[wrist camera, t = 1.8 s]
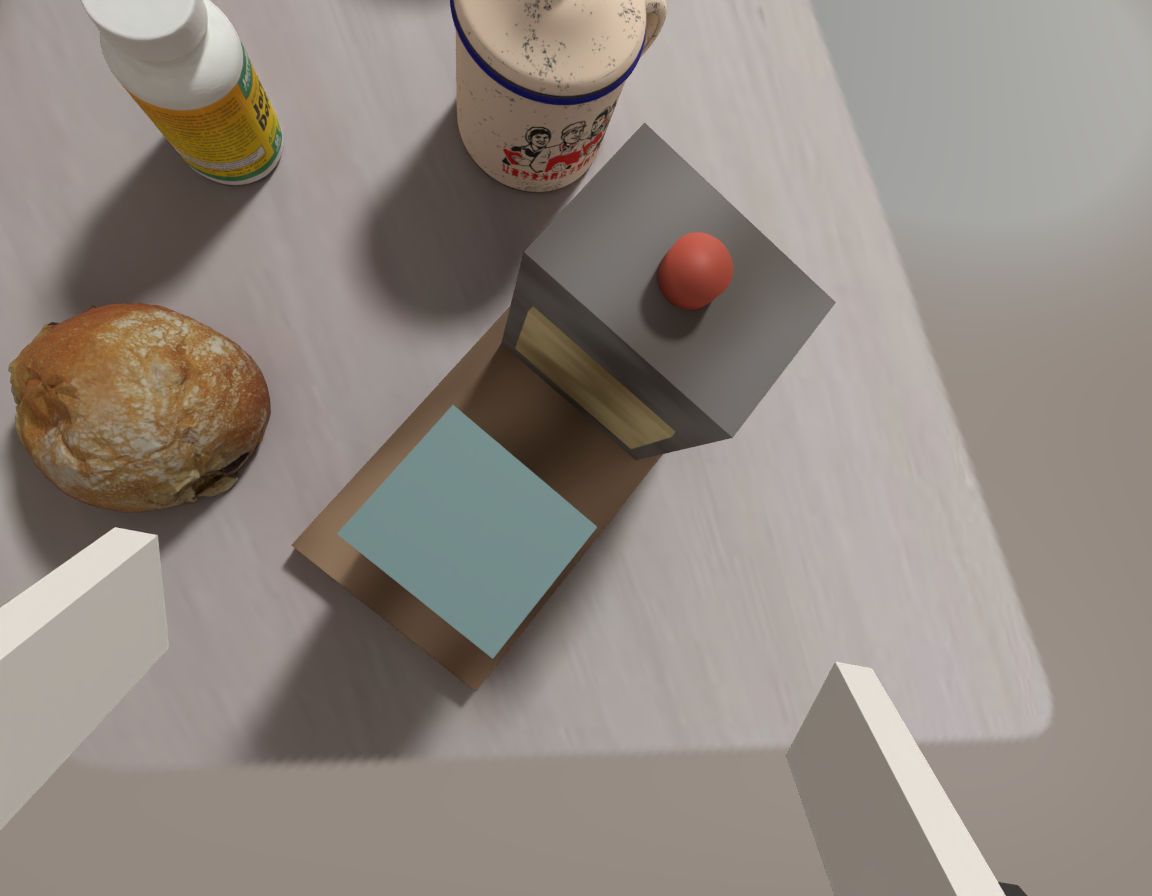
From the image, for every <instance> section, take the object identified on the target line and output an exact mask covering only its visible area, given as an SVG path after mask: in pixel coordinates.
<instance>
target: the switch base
mask: <svg viewBox="0 0 1152 896" xmlns="http://www.w3.org/2000/svg"><path fill="white" fill-rule="evenodd" d="M835 303H836V302H835V301H834V300H833V299H832V298H830V297H829V296H828V295H827V294H826V293H825V292H824V291H823V290H822V289H821V288H820V287H819V286H818V285H817V284H816V283H815V282H813V281H812V280H811V279H810V278H809V277H808V276H807V275H806V274H805V273H804V272H803V271H802V270H801V269H800V268H799V267H798V266H796V265H795V264H794V263H793V262H792V261H791V260H790V259H789V258H788V257H787V256H786V255H785V254H784V253H783V252H782V251H780V250H779V249H778V248H777V247H776V246H775V245H774V244H773V243H772V242H771V241H770V240H769V239H768V238H767V237H766V236H765V235H763V234H762V233H761V232H760V231H759V230H758V229H757V228H756V227H755V226H754V225H753V224H752V223H751V222H750V221H749V220H748V219H746V218H745V217H744V216H743V215H742V214H741V213H740V212H739V211H738V210H737V209H736V208H735V207H734V206H733V205H732V204H731V203H729V202H728V201H727V200H726V199H725V198H724V197H723V196H722V195H721V194H720V193H719V192H718V191H717V190H716V189H715V188H714V187H712V186H711V185H710V184H709V183H708V182H707V181H706V180H705V179H704V178H703V177H702V176H701V175H700V174H699V173H698V172H696V171H695V170H694V169H693V168H692V167H691V166H690V165H689V164H688V163H687V162H686V161H685V160H684V159H683V158H682V157H681V156H679V155H678V154H677V153H676V152H675V151H674V150H673V149H672V148H671V147H670V146H669V145H668V144H667V143H666V142H665V141H664V140H662V139H661V138H660V137H659V136H658V135H657V134H656V133H655V132H654V131H653V130H652V129H651V128H650V127H649V126H648V125H647V124H645V123H644V124H643V125H642V126H641V127H640V128H639V129H638V130H637V131H636V132H635V133H634V134H633V135H632V137H631V138H630V139H629V140H628V141H627V142H626V143H625V144H624V145H623V146H622V147H621V148H620V149H619V150H618V152H617V153H616V154H615V155H614V156H613V157H612V158H611V159H610V160H609V161H608V162H607V163H606V164H605V165H604V167H603V168H602V169H601V170H600V171H599V172H598V173H597V174H596V175H595V176H594V177H593V178H592V179H591V180H590V182H589V183H588V184H587V185H586V186H585V187H584V188H583V189H582V190H581V191H580V192H579V193H578V194H577V195H576V197H575V198H574V199H573V200H572V201H571V202H570V203H569V204H568V205H567V206H566V207H565V208H564V209H563V210H562V212H561V213H560V214H559V215H558V216H557V217H556V218H555V219H554V220H553V221H552V222H551V223H550V224H549V225H548V227H547V228H546V229H545V230H544V231H543V232H542V233H541V234H540V235H539V236H538V237H537V238H536V239H535V240H534V242H533V243H532V244H531V245H530V246H529V247H528V248H527V249H526V250H525V251H524V253H523V257H522V261H521V265H520V270H519V274H518V278H517V282H516V286H515V290H514V294H513V298H512V302H511V306H510V307H509V308H508V309H507V310H506V311H505V312H504V314H503V315H502V316H501V317H500V318H499V319H498V320H497V321H496V322H495V323H494V324H493V326H492V327H491V328H490V329H489V330H488V331H487V332H486V333H485V334H484V335H483V337H482V338H481V339H480V340H479V341H478V342H477V343H476V344H475V345H474V346H473V347H472V349H471V350H470V351H469V352H468V353H467V354H466V355H465V356H464V357H463V358H462V359H461V361H460V362H459V363H458V364H457V365H456V366H455V367H454V368H453V369H452V370H451V371H450V373H449V374H448V375H447V376H446V377H445V378H444V379H443V380H442V381H441V382H440V383H439V385H438V386H437V387H436V388H435V389H434V390H433V391H432V392H431V393H430V394H429V395H428V397H427V398H426V399H425V400H424V401H423V402H422V403H421V404H420V405H419V406H418V407H417V409H416V410H415V411H414V412H413V413H412V414H411V415H410V416H409V417H408V418H407V419H406V421H405V422H404V423H403V424H402V425H401V426H400V427H399V428H398V429H397V430H396V431H395V433H394V434H393V435H392V436H391V437H390V438H389V439H388V440H387V441H386V442H385V444H384V445H383V446H382V447H381V448H380V449H379V450H378V451H377V452H376V453H375V454H374V456H373V457H372V458H371V459H370V460H369V461H368V462H367V463H366V464H365V465H364V466H363V468H362V469H361V470H360V471H359V472H358V473H357V474H356V475H355V476H354V477H353V478H352V480H351V481H350V482H349V483H348V484H347V485H346V486H345V487H344V488H343V489H342V490H341V492H340V493H339V494H338V495H337V496H336V497H335V498H334V499H333V500H332V501H331V502H330V504H329V505H328V506H327V507H326V508H325V509H324V510H323V511H322V512H321V513H320V514H319V516H318V517H317V518H316V519H315V520H314V521H313V522H312V523H311V524H310V525H309V526H308V528H307V529H306V530H305V531H304V532H303V533H302V534H301V535H300V536H299V537H298V538H297V540H296V541H295V542H294V543H293V544H292V546H293V547H294V548H295V549H297V550H298V551H299V552H300V553H302V554H303V555H304V556H305V557H307V558H308V559H309V560H310V561H312V562H313V563H314V564H315V565H317V566H318V567H319V568H321V569H322V570H323V571H324V572H326V573H327V574H328V575H329V576H331V577H332V578H333V579H334V580H336V581H337V582H338V583H339V584H341V585H342V586H343V587H345V588H346V589H347V590H348V591H350V592H351V593H352V594H353V595H355V596H356V597H357V598H358V599H360V600H361V601H362V602H363V603H365V604H366V605H367V606H368V607H370V608H371V609H372V610H374V611H375V612H376V613H377V614H379V615H380V616H381V617H382V618H384V619H385V620H386V621H387V622H389V623H390V624H391V625H392V626H394V627H395V628H396V629H398V630H399V631H400V632H401V633H403V634H404V635H405V636H406V637H408V638H409V639H410V640H411V641H413V642H414V643H415V644H416V645H418V646H419V647H420V648H421V649H423V650H424V651H425V652H427V653H428V654H429V655H430V656H432V657H433V658H434V659H435V660H437V661H438V662H439V663H440V664H442V665H443V666H444V667H445V668H447V669H448V670H449V671H451V672H452V673H453V674H454V675H456V676H457V677H458V678H459V679H461V680H462V681H463V682H464V683H466V684H467V685H468V686H469V687H471V688H472V689H473V690H474V691H476V690H477V689H478V688H479V686H480V685H481V684H482V683H483V681H484V680H485V679H486V677H487V676H488V675H489V674H490V672H491V671H492V670H493V669H494V667H495V666H496V665H497V664H498V662H499V661H500V660H501V658H502V657H503V656H504V655H505V653H506V652H507V651H508V650H509V648H510V647H511V646H512V645H513V643H514V642H515V641H516V639H517V638H518V637H519V636H520V634H521V633H522V632H523V631H524V629H525V628H526V627H527V625H528V624H529V623H530V622H531V620H532V619H533V618H534V617H535V615H536V614H537V613H538V612H539V610H540V609H541V608H542V606H543V605H544V604H545V603H546V601H547V600H548V599H549V598H550V596H551V595H552V594H553V593H554V591H555V590H556V589H557V587H558V586H559V585H560V584H561V582H562V581H563V580H564V579H565V577H566V576H567V575H568V573H569V572H570V571H571V570H572V568H573V567H574V566H575V565H576V563H577V562H578V561H579V560H580V558H581V557H582V556H583V554H584V553H585V552H586V551H587V549H588V548H589V547H590V546H591V544H592V543H593V542H594V540H595V539H596V538H597V537H598V535H599V534H600V533H601V532H602V530H603V529H604V528H605V527H606V525H607V524H608V523H609V521H610V520H611V519H612V518H613V516H614V515H615V514H616V513H617V511H618V510H619V509H620V508H621V506H622V505H623V504H624V502H625V501H626V500H627V499H628V497H629V496H630V495H631V494H632V492H633V491H634V490H635V488H636V487H637V486H638V485H639V483H640V482H641V481H642V480H643V478H644V477H645V476H646V475H647V473H648V472H649V471H650V469H651V468H652V467H653V466H654V464H655V463H656V462H657V461H658V459H659V458H660V457H661V456H662V454H665V453H669V452H673V451H678V450H682V449H686V448H690V447H695V446H699V445H703V444H708V443H712V442H716V441H721V440H725V439H729V438H733V437H734V435H735V434H736V433H737V431H738V430H739V429H740V427H741V426H742V425H743V423H744V422H745V421H746V420H747V418H748V417H749V416H750V414H751V413H752V412H753V410H754V409H755V408H756V406H757V405H758V404H759V402H760V401H761V400H762V399H763V397H764V396H765V395H766V393H767V392H768V391H769V389H770V388H771V387H772V385H773V384H774V383H775V382H776V380H777V379H778V378H779V376H780V375H781V374H782V372H783V371H784V370H785V368H786V367H787V366H788V364H789V363H790V362H791V361H792V359H793V358H794V357H795V355H796V354H797V353H798V351H799V350H800V349H801V347H802V346H803V345H804V343H805V342H806V341H807V340H808V338H809V337H810V336H811V334H812V333H813V332H814V330H815V329H816V328H817V326H818V325H819V324H820V323H821V321H822V320H823V319H824V317H825V316H826V315H827V313H828V312H829V311H830V309H831V308H832V307H833V305H834V304H835ZM452 405H454V406H455V407H456V408H458V409H459V410H460V411H461V412H462V413H463V414H465V415H466V416H467V417H468V418H469V419H471V420H472V421H473V422H474V423H475V424H476V425H478V426H479V427H480V428H481V429H482V430H483V431H485V432H486V433H487V434H488V435H489V436H491V437H492V438H493V439H494V440H495V441H496V442H498V443H499V444H500V445H501V446H502V447H504V448H505V449H506V450H507V451H508V452H509V453H511V454H512V455H513V456H514V457H515V458H517V459H518V460H519V461H520V462H521V463H522V464H524V465H525V466H526V467H527V468H528V469H530V470H531V471H532V472H533V473H534V474H535V475H537V476H538V477H539V478H540V479H541V480H543V481H544V482H545V483H546V484H547V485H548V486H550V487H551V488H552V489H553V490H554V491H556V492H557V493H558V494H559V495H560V496H561V497H563V498H564V499H565V500H566V501H567V502H569V503H570V504H571V505H572V506H573V507H574V508H576V509H577V510H578V511H579V512H580V513H581V514H583V515H584V516H585V517H586V518H587V519H589V520H590V521H591V522H592V523H593V524H594V525H596V526H597V528H596V529H595V531H594V532H593V533H592V534H591V536H590V537H589V538H588V539H587V541H586V542H585V543H584V545H583V546H582V547H581V548H580V550H579V551H578V552H577V553H576V555H575V556H574V557H573V558H572V560H571V561H570V562H569V563H568V565H567V566H566V567H565V568H564V570H563V571H562V572H561V574H560V575H559V576H558V577H557V579H556V580H555V581H554V582H553V584H552V585H551V586H550V587H549V589H548V590H547V591H546V592H545V594H544V595H543V596H542V598H541V599H540V600H539V601H538V603H537V604H536V605H535V606H534V608H533V609H532V610H531V611H530V613H529V614H528V615H527V616H526V618H525V619H524V620H523V622H522V623H521V624H520V625H519V627H518V628H517V629H516V630H515V632H514V633H513V634H512V635H511V637H510V638H509V639H508V640H507V642H506V643H505V644H504V646H503V647H502V648H501V649H500V651H499V652H498V653H497V654H496V656H495V657H494V658H493V659H492V658H491V657H490V656H489V655H487V654H486V653H485V652H484V651H482V650H481V649H480V648H479V647H477V646H476V645H475V644H474V643H472V642H471V641H470V640H469V639H467V638H466V637H465V636H464V635H462V634H461V633H460V632H459V631H457V630H456V629H455V628H454V627H452V626H451V625H450V624H449V623H447V622H446V621H445V620H444V619H442V618H441V617H440V616H439V615H437V614H436V613H435V612H434V611H432V610H431V609H430V608H429V607H427V606H426V605H425V604H424V603H422V602H421V601H420V600H419V599H417V598H416V597H415V596H414V595H412V594H411V593H410V592H409V591H408V590H406V589H405V588H404V587H403V586H401V585H400V584H399V583H398V582H396V581H395V580H394V579H393V578H391V577H390V576H389V575H388V574H386V573H385V572H384V571H383V570H381V569H380V568H379V567H378V566H376V565H375V564H374V563H373V562H371V561H370V560H369V559H368V558H366V557H365V556H364V555H363V554H361V553H360V552H359V551H358V550H356V549H355V548H354V547H353V546H351V545H350V544H349V543H348V542H346V541H345V540H344V539H343V538H341V537H340V536H339V535H338V534H337V533H338V532H339V531H340V530H341V528H342V527H343V526H344V525H345V524H346V523H347V522H348V521H349V520H350V518H351V517H352V516H353V515H354V514H355V513H356V512H357V511H358V510H359V508H360V507H361V506H362V505H363V504H364V503H365V502H366V501H367V500H368V498H369V497H370V496H371V495H372V494H373V493H374V492H375V491H376V490H377V488H378V487H379V486H380V485H381V484H382V483H383V482H384V481H385V480H386V479H387V477H388V476H389V475H390V474H391V473H392V472H393V471H394V470H395V469H396V467H397V466H398V465H399V464H400V463H401V462H402V461H403V460H404V459H405V457H406V456H407V455H408V454H409V453H410V452H411V451H412V450H413V449H414V447H415V446H416V445H417V444H418V443H419V442H420V441H421V440H422V439H423V437H424V436H425V435H426V434H427V433H428V432H429V431H430V430H431V429H432V427H433V426H434V425H435V424H436V423H437V422H438V421H439V420H440V419H441V417H442V416H443V415H444V414H445V413H446V412H447V411H448V410H449V409H450V407H451V406H452Z"/></svg>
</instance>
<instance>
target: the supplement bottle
mask: <svg viewBox="0 0 1152 896" xmlns="http://www.w3.org/2000/svg"><path fill="white" fill-rule="evenodd" d="M81 2H82V4H83V7H84V9H85V11H86V12H87V14H88V15H89V17H90V18H91V19H92V21H93V22H94V23H95V25H96V26H97V27H98V29H99V31H100V42H101V48H102V52H103V55H104V57H105V60H106V62H107V64H108V66H109V68H110V69H111V71H112V73H113V74H114V75H115V77H116V78H117V79H118V81H119V82H120V83H121V84H122V85H123V87H124V88H125V89H126V90H127V92H128V93H129V94H130V95H131V96H132V98H133V99H134V100H135V101H136V102H137V104H138V105H139V106H140V107H141V108H142V110H143V111H144V112H145V113H146V114H147V116H148V117H149V118H150V119H151V120H152V122H153V123H154V124H155V125H156V127H157V128H158V129H159V130H160V132H161V133H162V134H163V135H164V136H165V138H166V139H167V140H168V141H169V143H170V144H171V145H172V146H173V147H174V149H175V150H176V151H177V152H178V154H179V155H180V156H181V157H182V158H183V160H184V161H185V162H186V163H187V164H188V165H189V166H190V167H191V168H192V169H193V170H195V171H196V172H197V173H199V174H201V175H202V176H204V177H206V178H208V179H210V180H213V181H215V182H218V183H222V184H227V185H243V184H248V183H252V182H255V181H257V180H260V179H261V178H263V177H265V176H266V175H267V174H269V173H270V172H271V171H272V170H273V169H274V167H275V166H276V164H277V163H278V161H279V159H280V157H281V154H282V151H283V147H284V137H283V132H282V128H281V125H280V123H279V121H278V118H277V116H276V114H275V112H274V110H273V108H272V106H271V103H270V101H269V99H268V97H267V95H266V93H265V91H264V89H263V87H262V85H261V82H260V80H259V78H258V76H257V75H256V73H255V70H254V68H253V66H252V64H251V62H250V60H249V58H248V56H247V53H246V51H245V49H244V47H243V45H242V42H241V40H240V38H239V36H238V34H237V33H236V31H235V29H234V27H233V26H232V24H231V22H230V21H229V20H228V18H227V17H226V16H225V15H224V13H223V12H222V11H221V10H220V9H219V8H218V7H217V6H216V5H214V4H213V3H212V2H211V1H209V0H81Z"/></svg>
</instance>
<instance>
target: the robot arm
mask: <svg viewBox="0 0 1152 896" xmlns="http://www.w3.org/2000/svg"><path fill="white" fill-rule="evenodd" d="M168 649H169V641H168V632H167V622H166V612H165V602H164V592H163V582H162V572H161V562H160V552H159V542H158V535H154V534H148V533H143V532H138V531H132V530H127V529H122V528H116V527H115V528H113V529H112V530H110V531H109V532H108V533H106V534H105V535H103V536H102V537H100V538H99V539H98V540H96V541H95V542H93V543H92V544H90V545H89V546H88V547H86V548H85V549H83V550H82V551H81V552H79V553H78V554H76V555H75V556H73V557H72V558H71V559H69V560H68V561H66V562H65V563H63V564H62V565H61V566H59V567H58V568H56V569H55V570H54V571H52V572H51V573H49V574H48V575H46V576H45V577H44V578H42V579H41V580H39V581H38V582H37V583H35V584H34V585H32V586H31V587H29V588H28V589H27V590H25V591H24V592H22V593H21V594H19V595H18V596H17V597H15V598H14V599H12V600H11V601H10V602H8V603H7V604H5V605H4V606H2V607H1V608H0V830H1V829H2V828H3V827H4V826H5V825H6V824H7V823H8V822H9V820H10V819H11V818H12V817H13V816H14V815H15V814H16V813H17V812H18V811H19V809H21V808H22V806H23V805H24V804H25V803H26V802H27V801H28V800H29V799H30V798H31V797H32V796H33V794H34V793H35V792H36V791H37V790H38V789H39V788H40V787H41V786H42V785H43V784H44V783H45V782H46V780H47V779H48V778H49V777H50V776H51V775H52V774H53V773H54V772H55V771H56V770H57V768H59V766H60V765H61V764H62V763H63V762H64V761H65V760H66V759H67V758H68V757H69V756H70V755H71V753H72V752H73V751H74V750H75V749H76V748H77V747H78V746H79V745H80V744H81V743H82V742H83V741H84V739H85V738H86V737H87V736H88V735H89V734H90V733H91V732H92V731H93V730H94V729H95V728H96V726H97V725H98V724H99V723H100V722H101V721H102V720H103V719H104V718H105V717H106V716H107V715H108V713H109V712H110V711H111V710H112V709H113V708H114V707H115V706H116V705H117V704H118V703H119V702H120V701H121V699H122V698H123V697H124V696H125V695H126V694H127V693H128V692H129V691H130V690H131V689H132V688H133V686H134V685H135V684H136V683H137V682H138V681H139V680H140V679H141V678H142V677H143V676H144V675H145V674H146V672H147V671H148V670H149V669H150V668H151V667H152V666H153V665H154V664H155V663H156V662H157V661H158V659H159V658H160V657H161V656H162V655H163V654H164V653H165V652H166V651H167V650H168ZM786 757H787V760H788V763H789V766H790V769H791V772H792V775H793V777H794V781H795V783H796V786H797V789H798V792H799V795H800V798H801V801H802V804H803V807H804V809H805V812H806V815H807V818H808V821H809V824H810V827H811V830H812V833H813V835H814V838H815V841H816V844H817V847H818V850H819V853H820V856H821V859H822V861H823V864H824V867H825V870H826V873H827V876H828V879H829V881H830V885H831V887H832V891H833V893H834V896H1027V895H1026V894H1025V893H1024V891H1022V889H1021V888H1020V887H1019V886H1018V885H1013V884H1006V883H1000V882H997V880H996V878H995V877H994V875H993V873H992V872H991V870H990V868H989V866H988V865H987V863H986V861H985V860H984V858H983V856H982V855H981V853H980V851H979V850H978V848H977V846H976V844H975V843H974V841H973V839H972V838H971V836H970V834H969V833H968V831H967V829H966V827H965V826H964V824H963V822H962V821H961V819H960V817H959V816H958V814H957V812H956V811H955V809H954V807H953V805H952V804H951V802H950V800H949V799H948V797H947V795H946V793H945V792H944V790H943V788H942V787H941V785H940V783H939V782H938V780H937V778H936V777H935V775H934V773H933V772H932V770H931V768H930V766H929V765H928V763H927V761H926V759H925V758H924V756H923V754H922V753H921V751H920V749H919V748H918V746H917V744H916V743H915V741H914V739H913V737H912V736H911V734H910V732H909V731H908V729H907V727H906V726H905V724H904V722H903V720H902V719H901V717H900V715H899V714H898V712H897V710H896V709H895V707H894V705H893V703H892V702H891V700H890V698H889V697H888V695H887V693H886V692H885V690H884V688H883V686H882V685H881V683H880V681H879V680H878V678H877V676H876V675H875V673H874V671H873V670H872V668H867V667H861V666H856V665H851V664H845V663H840V662H835V663H834V665H833V667H832V669H831V671H830V673H829V675H828V677H827V679H826V680H825V682H824V684H823V686H822V688H821V690H820V692H819V694H818V696H817V698H816V699H815V701H814V703H813V705H812V707H811V709H810V711H809V713H808V715H807V717H806V718H805V720H804V722H803V724H802V726H801V728H800V730H799V732H798V734H797V736H796V737H795V739H794V741H793V743H792V745H791V747H790V749H789V751H788V753H787V755H786Z"/></svg>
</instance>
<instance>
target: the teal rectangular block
mask: <svg viewBox="0 0 1152 896" xmlns="http://www.w3.org/2000/svg"><path fill="white" fill-rule="evenodd" d="M596 528H597V526H596V525H594V524H593V523H592V522H591V521H590V520H589V519H587V518H586V517H585V516H584V515H583V514H581V513H580V512H579V511H578V510H577V509H576V508H574V507H573V506H572V505H571V504H570V503H569V502H567V501H566V500H565V499H564V498H563V497H561V496H560V495H559V494H558V493H557V492H556V491H554V490H553V489H552V488H551V487H550V486H548V485H547V484H546V483H545V482H544V481H543V480H541V479H540V478H539V477H538V476H537V475H535V474H534V473H533V472H532V471H531V470H530V469H528V468H527V467H526V466H525V465H524V464H522V463H521V462H520V461H519V460H518V459H517V458H515V457H514V456H513V455H512V454H511V453H509V452H508V451H507V450H506V449H505V448H504V447H502V446H501V445H500V444H499V443H498V442H496V441H495V440H494V439H493V438H492V437H491V436H489V435H488V434H487V433H486V432H485V431H483V430H482V429H481V428H480V427H479V426H478V425H476V424H475V423H474V422H473V421H472V420H471V419H469V418H468V417H467V416H466V415H465V414H463V413H462V412H461V411H460V410H459V409H458V408H456V407H455V406H454V405H452V406H451V407H450V409H449V410H448V411H447V412H446V413H445V414H444V415H443V416H442V417H441V419H440V420H439V421H438V422H437V423H436V424H435V425H434V426H433V427H432V429H431V430H430V431H429V432H428V433H427V434H426V435H425V436H424V437H423V439H422V440H421V441H420V442H419V443H418V444H417V445H416V446H415V447H414V449H413V450H412V451H411V452H410V453H409V454H408V455H407V456H406V457H405V459H404V460H403V461H402V462H401V463H400V464H399V465H398V466H397V467H396V469H395V470H394V471H393V472H392V473H391V474H390V475H389V476H388V477H387V479H386V480H385V481H384V482H383V483H382V484H381V485H380V486H379V487H378V488H377V490H376V491H375V492H374V493H373V494H372V495H371V496H370V497H369V498H368V500H367V501H366V502H365V503H364V504H363V505H362V506H361V507H360V508H359V510H358V511H357V512H356V513H355V514H354V515H353V516H352V517H351V518H350V520H349V521H348V522H347V523H346V524H345V525H344V526H343V527H342V528H341V530H340V531H339V532H338V533H337V534H338V535H339V536H340V537H341V538H343V539H344V540H345V541H346V542H348V543H349V544H350V545H351V546H353V547H354V548H355V549H356V550H358V551H359V552H360V553H361V554H363V555H364V556H365V557H366V558H368V559H369V560H370V561H371V562H373V563H374V564H375V565H376V566H378V567H379V568H380V569H381V570H383V571H384V572H385V573H386V574H388V575H389V576H390V577H391V578H393V579H394V580H395V581H396V582H398V583H399V584H400V585H401V586H403V587H404V588H405V589H406V590H408V591H409V592H410V593H411V594H412V595H414V596H415V597H416V598H417V599H419V600H420V601H421V602H422V603H424V604H425V605H426V606H427V607H429V608H430V609H431V610H432V611H434V612H435V613H436V614H437V615H439V616H440V617H441V618H442V619H444V620H445V621H446V622H447V623H449V624H450V625H451V626H452V627H454V628H455V629H456V630H457V631H459V632H460V633H461V634H462V635H464V636H465V637H466V638H467V639H469V640H470V641H471V642H472V643H474V644H475V645H476V646H477V647H479V648H480V649H481V650H482V651H484V652H485V653H486V654H487V655H489V656H490V657H491V658H492V659H493V658H494V657H495V656H496V654H497V653H498V652H499V651H500V649H501V648H502V647H503V646H504V644H505V643H506V642H507V640H508V639H509V638H510V637H511V635H512V634H513V633H514V632H515V630H516V629H517V628H518V627H519V625H520V624H521V623H522V622H523V620H524V619H525V618H526V616H527V615H528V614H529V613H530V611H531V610H532V609H533V608H534V606H535V605H536V604H537V603H538V601H539V600H540V599H541V598H542V596H543V595H544V594H545V592H546V591H547V590H548V589H549V587H550V586H551V585H552V584H553V582H554V581H555V580H556V579H557V577H558V576H559V575H560V574H561V572H562V571H563V570H564V568H565V567H566V566H567V565H568V563H569V562H570V561H571V560H572V558H573V557H574V556H575V555H576V553H577V552H578V551H579V550H580V548H581V547H582V546H583V545H584V543H585V542H586V541H587V539H588V538H589V537H590V536H591V534H592V533H593V532H594V531H595V529H596Z"/></svg>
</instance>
